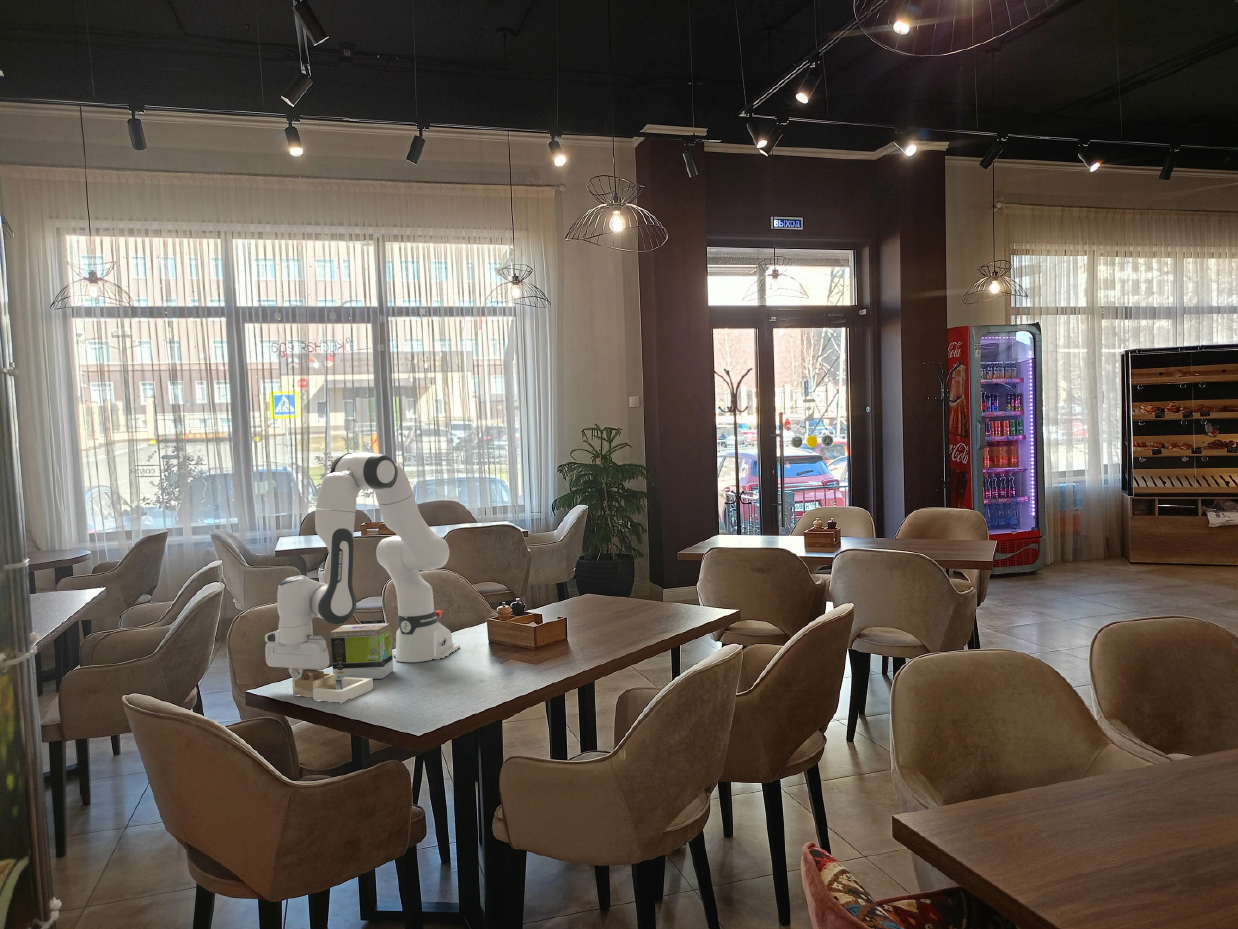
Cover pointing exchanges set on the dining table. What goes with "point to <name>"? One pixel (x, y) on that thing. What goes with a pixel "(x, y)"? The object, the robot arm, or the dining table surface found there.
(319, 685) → the caddy
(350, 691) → the bay
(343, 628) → the tea box
